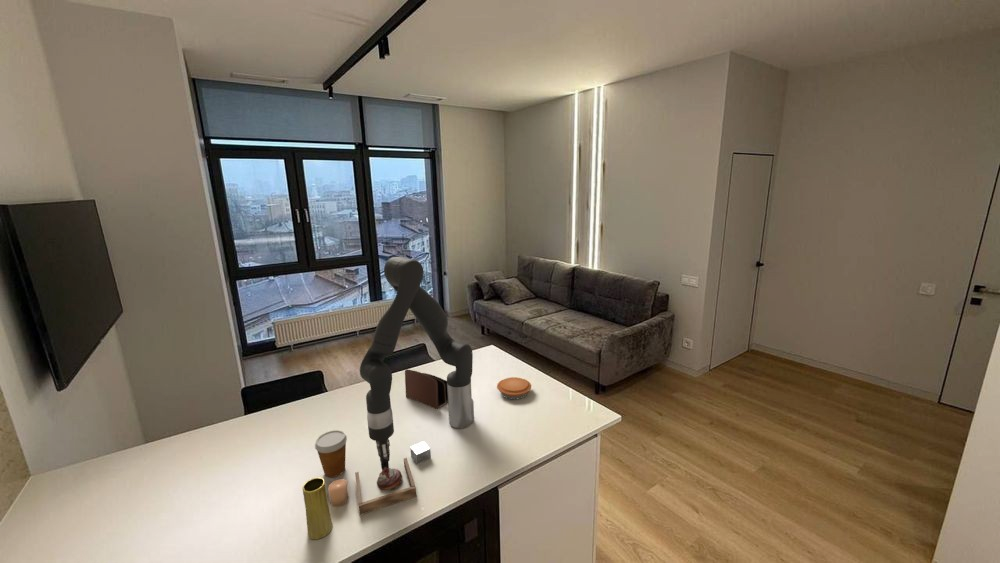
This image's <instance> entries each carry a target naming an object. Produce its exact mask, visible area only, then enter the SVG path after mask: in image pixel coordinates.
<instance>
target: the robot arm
mask: <svg viewBox="0 0 1000 563" xmlns="http://www.w3.org/2000/svg"><path fill="white" fill-rule="evenodd" d="M383 267H384V268H383V273H384V277H385V279H386V281H387V283H388V284H389V285H390V286H391V287H392V288H393V289H394V290H395V292H396V294H395V297H394V299H393V302H392V303H391V305H390V306H389V308H388V309H387V310H386V312H385V313H384V314H383V315H381V316H382V317H381V318H380V319H379V321H378V323H377V325H376V328H375V332H374V335H373V338H372V342H371V345H370V347H369V348H368V349H367V351H366V353H365V354H364V357H363V359H362V360H361V363H360V366H359V375H360V377H361V378H362V379H363V381H365V382H366V383H368V384H369V386H370V390H368V391H367V393H366V396H365V400H366V402H365V403H366V410H367V411H366V414H367V415H366V420H367V429H368V437H369V439H371V440H372V441H375V444H376V451H377V454H378V458H379V461H380V466H381V467H380V468H381V472H382V471H383V470H384V467H386V468H390V464H389V462H390V460H391V459H390V456H391V453H390V446H391V443H390V439H389V438H391V437H392V436H393V435H394V433H395V426H394V417H393V410H392V404H391V395H390V394H391V390H392V385H393V384H392V383H393V373H392V370H391V368H390V367H389V365H388V364H386V363H384V362H385V361H384V360H385V359H386V357H387V356H390V355H392V354H393V353H394V352H395V349H396V346H397V343H398V339H399V335H400V332H401V329H402V327H403V326H402V325H403V323H404V321H405V318H406V316H407V313H408V312H409V311H411V313H412V315H413V316H414V318H415V319H416V321H417V322H418V323H419V326H420V327H421V328H422V329H423V330H424V332H425V333H426V335H427V336H428V337H429V340H431V342H432V343H433V345H434V347H435V349H436V351H437V352H438V353H437V354H438V355H439V357H440V359H441V360H442V361H443V363H445V364H446V365H449V366H452V367H455V370H453V371H451V372H449V373H448V374H447V376H446V381H447V392H448V403H447V408H448V423H449V426H450V427H452V428H455V429H465V428H467V427H470V426H471V425H472V424H474V423H475V410H474V409H475V406H474V405H475V404H474V403H475V401H474V399H473V398H472V397H473V396H472V376H473V364H474V361H473V357H474V354H473V348H472V347H471V345H470V344H468V343H465V342H461V341H458V340H455V339H453V338H452V337H451V335H450V334H449V332H448V331H447V330H448V325H449V324H448V323H449V321H448V316H447V314H446V312H445V311H444V309H443V308H442V305H441V304H440V303H439V302H438V300H436V299H435V298H434V297H433V296H431V294H429V293H428V292H427V291H426V290H425V289H424V288H423V287H422V286H421V284H422V282H423V279H424V267H423V265H422V263H421V262H419V261H418V260H416V259H412V258H407V257H403V256H393V257H390V258H389V259H387V260H386V262H385V264H384V266H383Z"/></svg>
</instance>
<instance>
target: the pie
mask: <svg viewBox="0 0 1000 563" xmlns="http://www.w3.org/2000/svg"><path fill="white" fill-rule="evenodd" d="M496 389H497V390H498V392H500V394H501V395H502V396H503V397H504V396H505V397H504V398H506V397H507V398H506V399H509V398H512V399H511V400H518V399H517V398H520V399H522V398H521V397H523V398H525V397H526V396H527V394H528V393H529V392H530V390H531V389H532V384H531V382H530V381H528V380H527V379H525V378H521V377H514V376H513V377H507V378H504V379H501V380H500V381H499V382H498V383H497V386H496ZM525 395H526V396H525Z"/></svg>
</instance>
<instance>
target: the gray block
mask: <svg viewBox="0 0 1000 563" xmlns="http://www.w3.org/2000/svg"><path fill="white" fill-rule="evenodd" d="M409 449H410V458H411V459H412V460H413V461H414V463H416V465H420V464H422V463H425V462H426V461H429V460H430V459H432V455H431V453H432V452H431V448H430V447H429V446H428V444H427V443H426V442H425V441H421V442H419V443H416V444H414V445H412V446H410V447H409Z"/></svg>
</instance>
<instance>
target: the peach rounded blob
mask: <svg viewBox="0 0 1000 563" xmlns="http://www.w3.org/2000/svg"><path fill="white" fill-rule="evenodd" d="M328 495H329V496H328V497H329V503H330V506H332V507H335V508H337V507H341V506H344V505H345V504H346V503H347V502H348V500H349V490H348V483H347V480H346V479H344V478H343V479H342V478H341V479H336V480H334V481H332V482H331V483H330V484H329V485H328Z"/></svg>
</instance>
